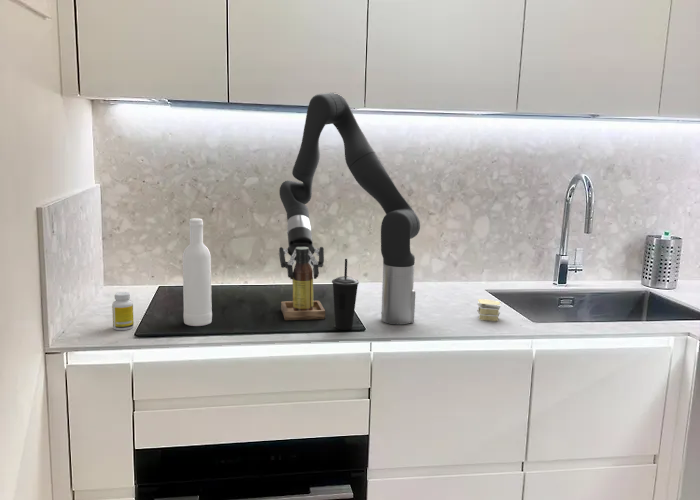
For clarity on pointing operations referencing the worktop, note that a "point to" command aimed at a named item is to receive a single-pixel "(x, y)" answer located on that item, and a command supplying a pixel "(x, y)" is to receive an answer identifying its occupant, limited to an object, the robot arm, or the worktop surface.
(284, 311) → the tray
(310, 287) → the sauce bottle
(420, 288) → the worktop surface
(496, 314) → the pale yellow layered block
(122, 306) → the supplement bottle
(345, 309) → the drinking cup
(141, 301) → the worktop surface
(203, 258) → the bottle
